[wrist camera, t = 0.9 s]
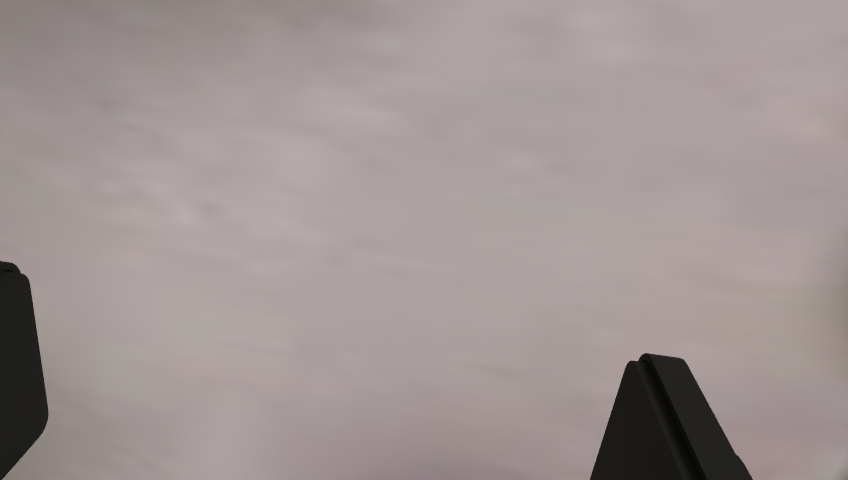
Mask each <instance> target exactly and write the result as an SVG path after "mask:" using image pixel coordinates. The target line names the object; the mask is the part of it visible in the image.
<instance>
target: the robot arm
mask: <svg viewBox="0 0 848 480" xmlns="http://www.w3.org/2000/svg"><path fill="white" fill-rule="evenodd" d="M47 420H48V405H47V398H46V391H45V385H44V378H43V371H42V364H41V357H40V350H39V343H38V336H37V330H36V323H35V316H34V309H33V302H32V295H31V288H30V283H29V279H28V278H27V277H26V276H25V275H24V274H21V273H20V270H19V269H18V267H17V266H16V265H14V264H13V263H9V262H2V261H0V480H2V479H3V478H4V477H5V476H6V474H7V473H8V472H9V471H10V470H11V469H12V468H13V466H14V465H15V464H16V463H17V462H18V461H19V460H20V458H21V457H22V456H23V455H24V454H25V453H26V452H27V450H28V449H29V448H30V447H31V446H32V445H33V444H34V442H35V441H36V440H37V439H38V438H39V437H40V435H41V434H42V433H43V431H44V429H45V427H46V424H47ZM590 480H753V479H752V477H751V476H750V474H749V472H748V470H747V468H746V466H745V465H744V463H743V462H742V461H741V459H740V458H739V456H737V455H736V454H735V452H734V450H733V449H732V447H731V445H730V443H729V441H728V439H727V437H726V436H725V434H724V432H723V430H722V428H721V426H720V425H719V423H718V421H717V419H716V417H715V415H714V413H713V412H712V410H711V408H710V406H709V404H708V402H707V400H706V399H705V397H704V395H703V393H702V391H701V389H700V388H699V386H698V384H697V382H696V380H695V378H694V376H693V375H692V373H691V371H690V369H689V367H688V365H687V364H686V362H685V361H684V360H683V359H681V358H676V357H669V356H662V355H655V354H648V353H645V354H643V355H642V356H641V357H640V358H639V361H629V362H628V364H627V366H626V368H625V371H624V374H623V377H622V380H621V383H620V387H619V390H618V393H617V396H616V399H615V402H614V405H613V409H612V412H611V415H610V418H609V421H608V424H607V427H606V431H605V434H604V437H603V440H602V443H601V446H600V449H599V453H598V456H597V459H596V462H595V465H594V468H593V471H592V475H591V478H590Z"/></svg>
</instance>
